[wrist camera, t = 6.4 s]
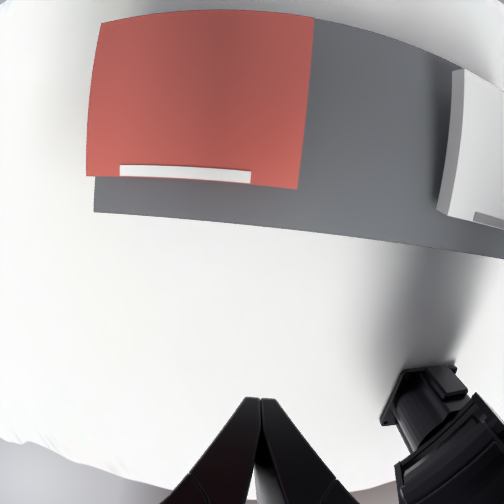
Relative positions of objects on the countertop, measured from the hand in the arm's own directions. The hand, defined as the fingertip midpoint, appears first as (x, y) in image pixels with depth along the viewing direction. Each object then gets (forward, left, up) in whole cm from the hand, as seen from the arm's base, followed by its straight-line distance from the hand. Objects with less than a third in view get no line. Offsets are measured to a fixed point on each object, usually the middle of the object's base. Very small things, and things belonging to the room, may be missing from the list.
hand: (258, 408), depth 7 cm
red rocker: (+10, +4, -6) cm, 12 cm away
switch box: (+10, -5, -12) cm, 16 cm away
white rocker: (+10, -14, -6) cm, 18 cm away
